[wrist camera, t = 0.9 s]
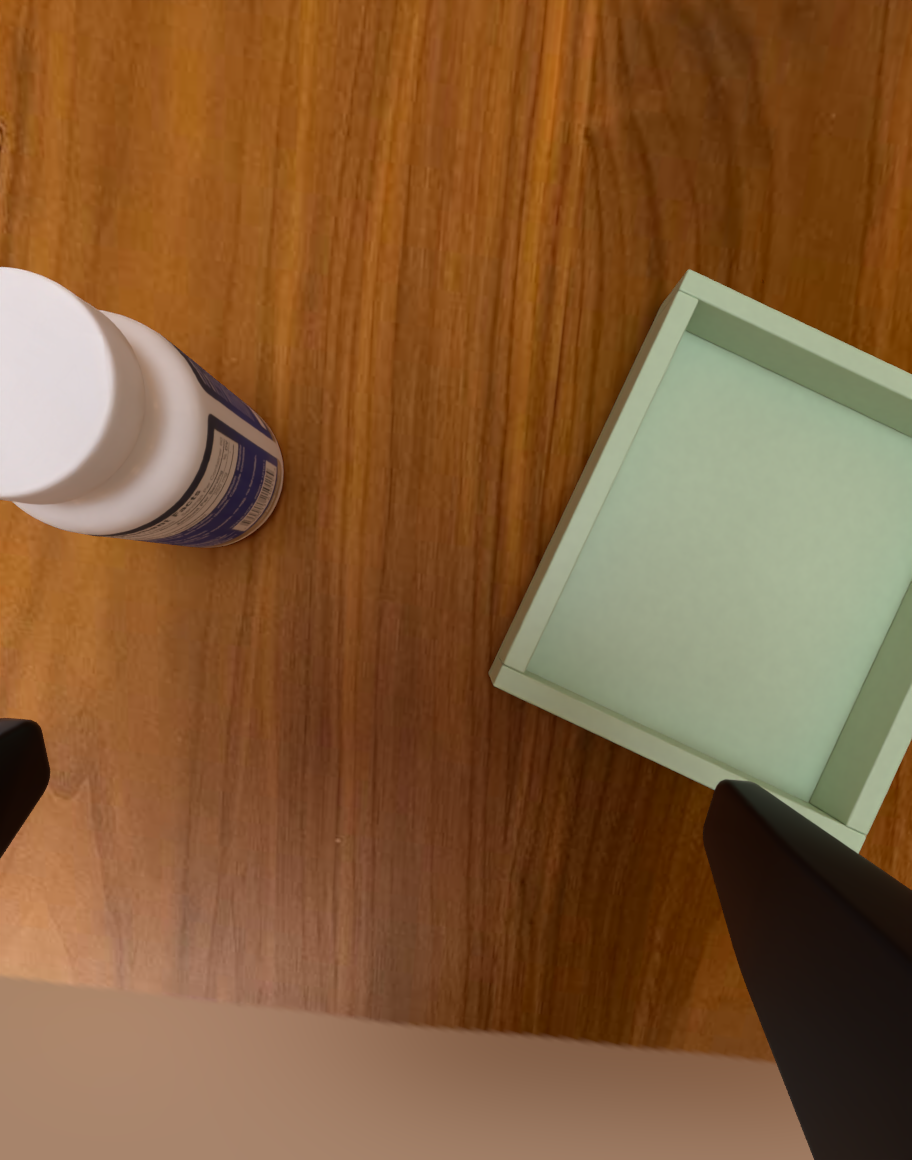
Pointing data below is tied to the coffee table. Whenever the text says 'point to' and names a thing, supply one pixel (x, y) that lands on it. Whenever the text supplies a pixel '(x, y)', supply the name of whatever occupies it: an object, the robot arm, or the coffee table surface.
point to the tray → (738, 564)
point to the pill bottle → (122, 427)
